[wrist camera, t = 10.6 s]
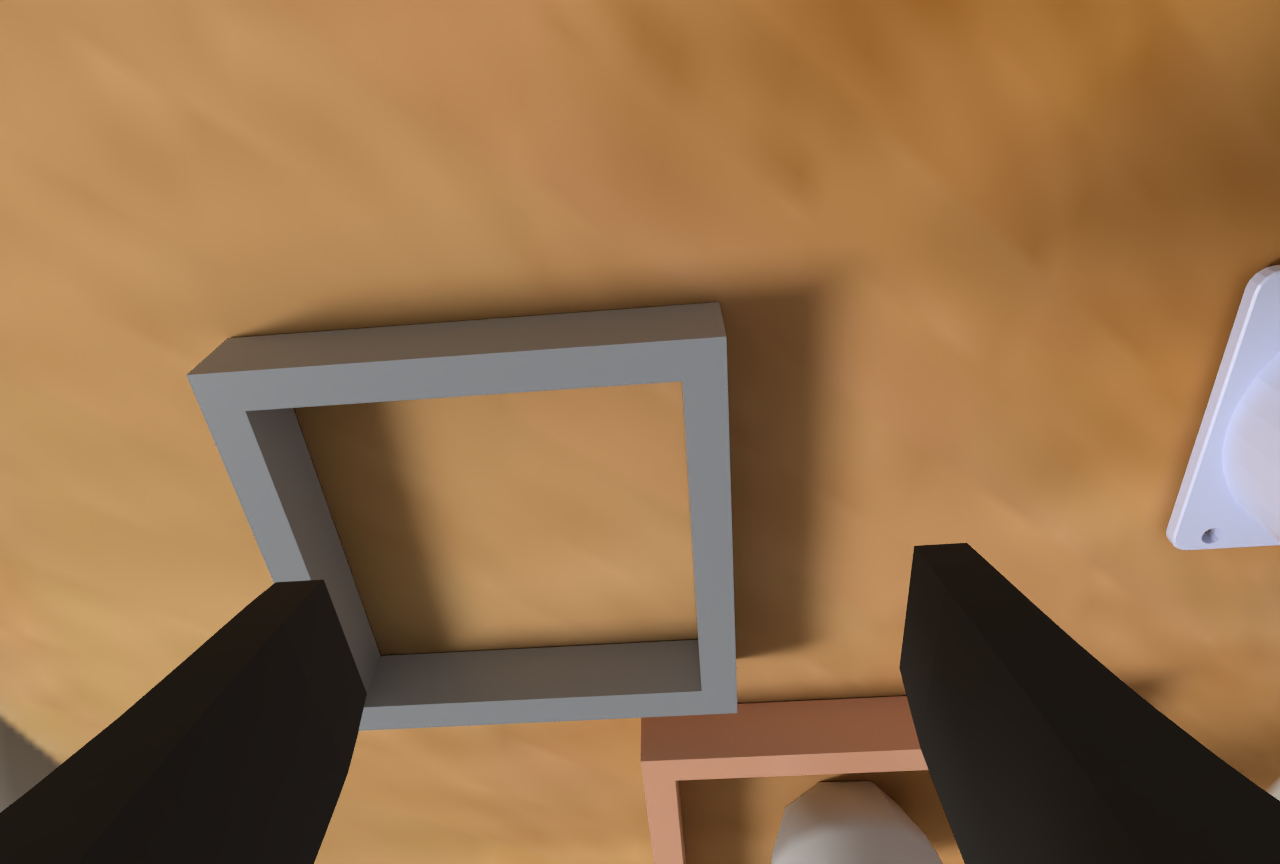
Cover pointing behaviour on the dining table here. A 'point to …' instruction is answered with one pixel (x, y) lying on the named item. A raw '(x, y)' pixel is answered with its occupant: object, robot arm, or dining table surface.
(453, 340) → the grey square frame
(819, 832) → the salt shaker
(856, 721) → the salmon pink square frame
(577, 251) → the dining table surface
